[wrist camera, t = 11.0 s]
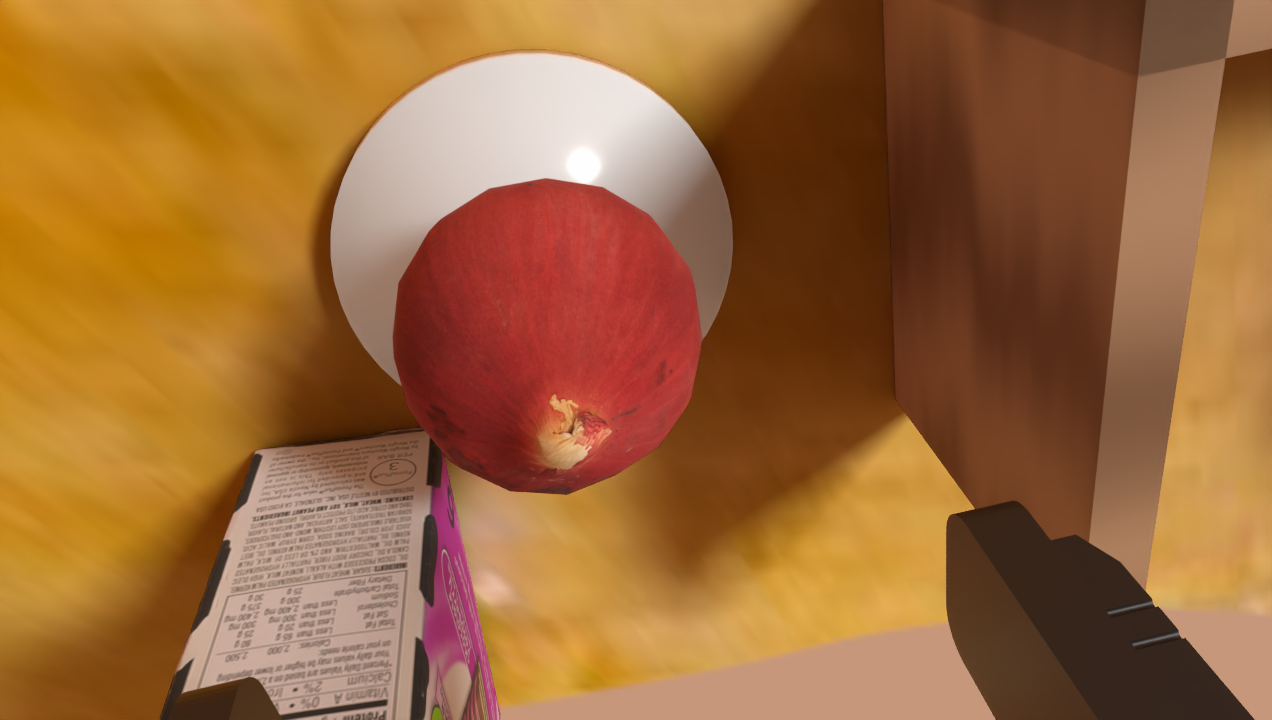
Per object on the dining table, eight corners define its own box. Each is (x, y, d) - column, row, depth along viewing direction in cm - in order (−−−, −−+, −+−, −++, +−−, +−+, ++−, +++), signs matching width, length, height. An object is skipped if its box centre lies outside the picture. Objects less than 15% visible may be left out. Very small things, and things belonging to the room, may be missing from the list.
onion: (636, 383, 23) (702, 619, 16) (396, 357, 22) (356, 601, 15) (690, 155, 20) (797, 319, 13) (421, 110, 19) (385, 267, 12)
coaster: (274, 97, 19) (267, 107, 19) (698, 10, 20) (706, 16, 19) (402, 445, 24) (400, 463, 23) (744, 369, 24) (752, 385, 24)
